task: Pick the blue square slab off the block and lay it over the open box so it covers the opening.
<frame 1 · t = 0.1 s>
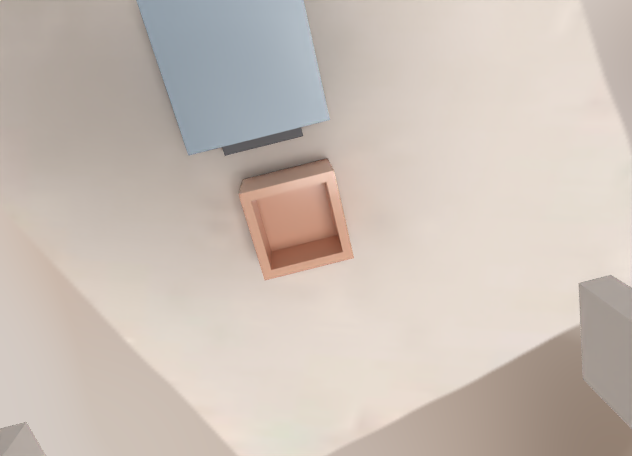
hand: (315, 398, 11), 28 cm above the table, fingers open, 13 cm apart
blue square slab: (240, 62, 32), point 2 cm above the table, touching block
block: (242, 62, 34), on the table
open box: (295, 209, 38), on the table
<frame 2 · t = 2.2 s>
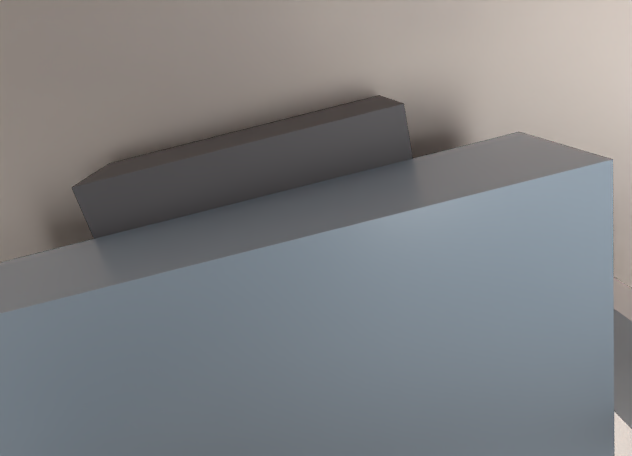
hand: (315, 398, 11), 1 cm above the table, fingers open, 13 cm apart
blue square slab: (316, 409, 10), point 2 cm above the table, touching block
block: (309, 355, 12), on the table
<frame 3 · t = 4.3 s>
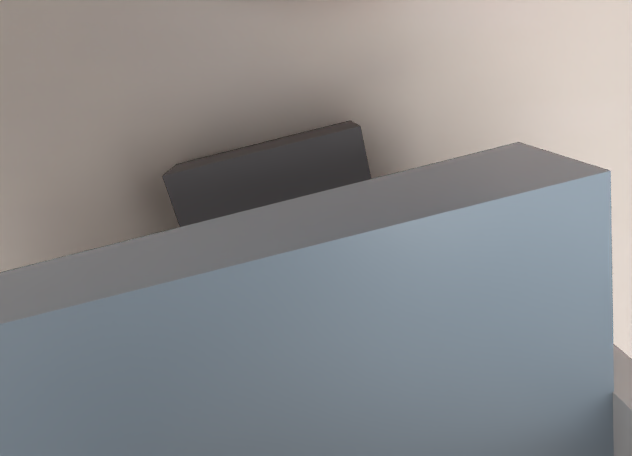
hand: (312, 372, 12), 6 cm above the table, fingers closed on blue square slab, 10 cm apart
blue square slab: (317, 417, 10), point 7 cm above the table, touching gripper
block: (306, 299, 17), on the table
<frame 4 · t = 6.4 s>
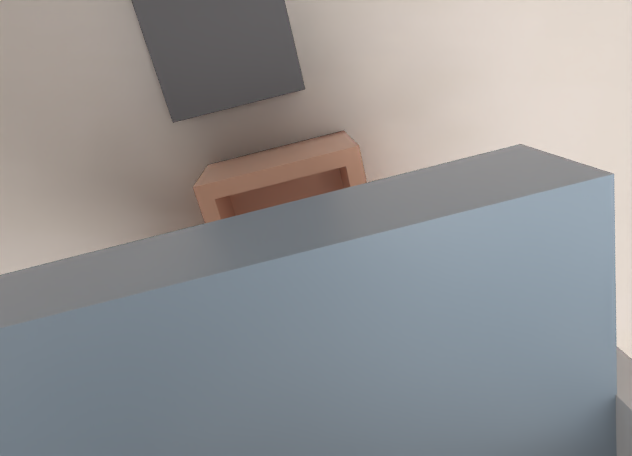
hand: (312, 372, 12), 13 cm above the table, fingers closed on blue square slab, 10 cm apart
blue square slab: (318, 420, 10), point 15 cm above the table, touching gripper
open box: (293, 212, 24), on the table
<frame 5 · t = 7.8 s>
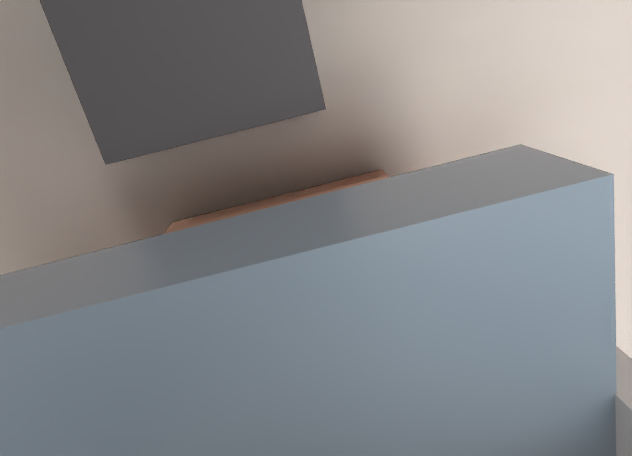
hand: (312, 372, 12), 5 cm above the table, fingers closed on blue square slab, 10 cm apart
blue square slab: (318, 420, 10), point 6 cm above the table, touching gripper
open box: (302, 289, 16), on the table
when the fingers open (4 cm above the table, at t = 8.8 s): blue square slab drops 1 cm, resting on open box.
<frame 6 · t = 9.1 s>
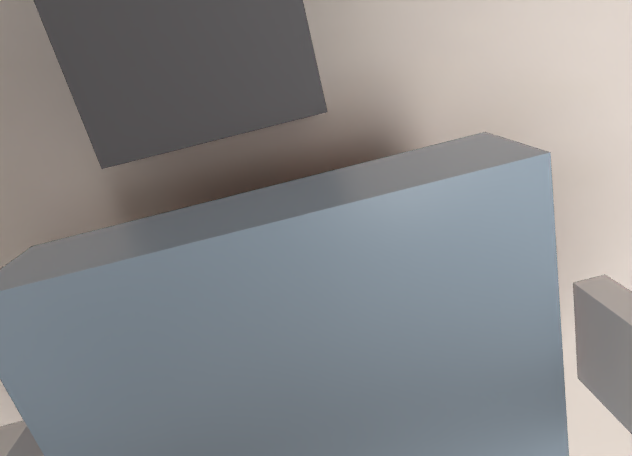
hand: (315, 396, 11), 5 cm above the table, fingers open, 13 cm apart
blue square slab: (312, 377, 12), point 4 cm above the table, touching open box
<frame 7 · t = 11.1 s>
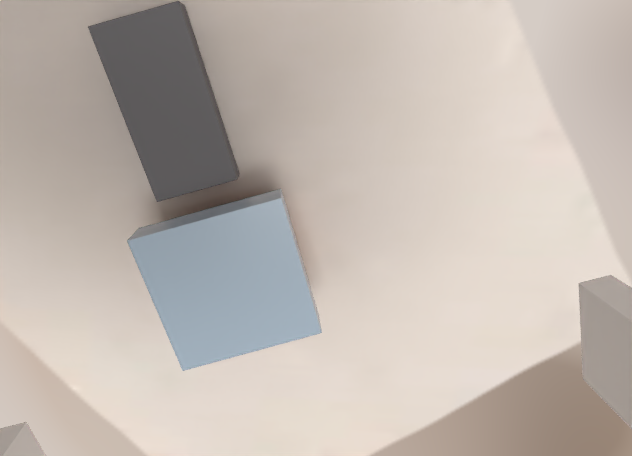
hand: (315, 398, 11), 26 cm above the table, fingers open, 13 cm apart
blue square slab: (232, 273, 33), point 4 cm above the table, touching open box
block: (173, 105, 33), on the table
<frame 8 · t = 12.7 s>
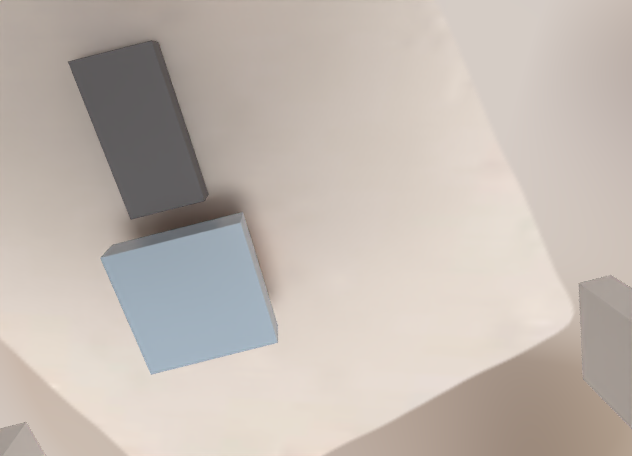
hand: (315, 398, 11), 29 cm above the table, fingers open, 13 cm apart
blue square slab: (198, 287, 36), point 4 cm above the table, touching open box
block: (147, 131, 36), on the table
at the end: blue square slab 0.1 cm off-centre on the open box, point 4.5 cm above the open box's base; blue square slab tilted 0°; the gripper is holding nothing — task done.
